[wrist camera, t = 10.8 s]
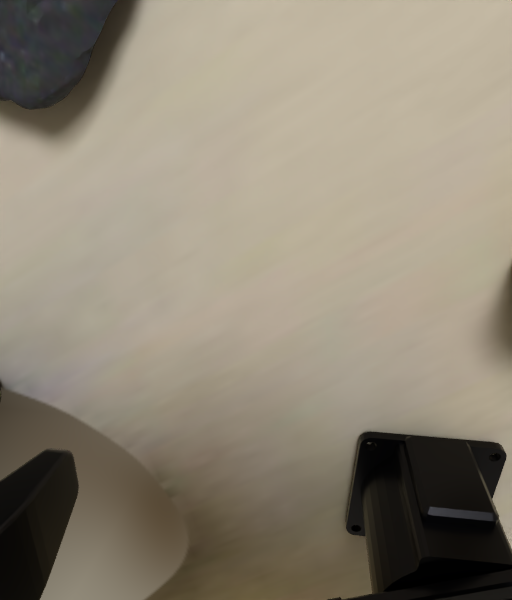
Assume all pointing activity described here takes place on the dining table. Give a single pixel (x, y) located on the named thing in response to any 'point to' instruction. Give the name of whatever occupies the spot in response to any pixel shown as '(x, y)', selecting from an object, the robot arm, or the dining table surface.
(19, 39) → the dark slate chunk
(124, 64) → the dining table surface
